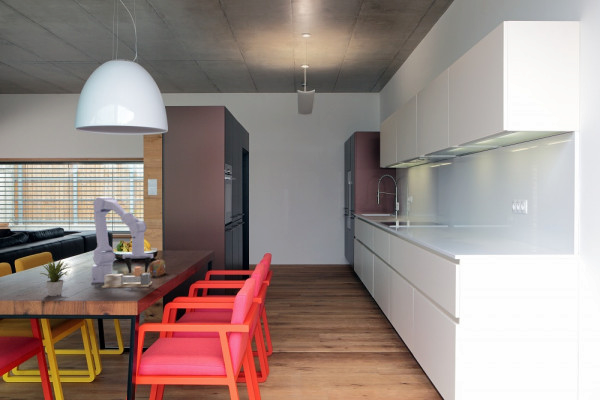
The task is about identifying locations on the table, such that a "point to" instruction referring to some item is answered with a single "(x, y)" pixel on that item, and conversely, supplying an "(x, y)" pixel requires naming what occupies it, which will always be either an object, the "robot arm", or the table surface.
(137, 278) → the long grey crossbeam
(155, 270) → the tin
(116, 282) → the tube stand
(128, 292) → the table surface
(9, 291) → the table surface
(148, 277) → the socket
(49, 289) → the house plant
